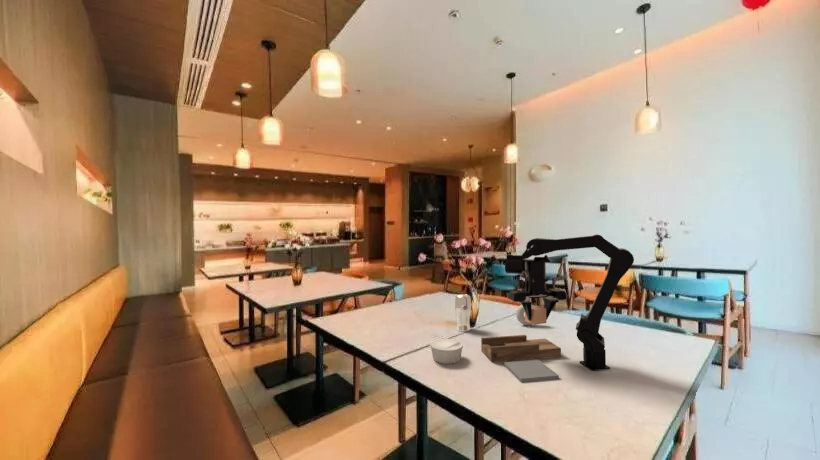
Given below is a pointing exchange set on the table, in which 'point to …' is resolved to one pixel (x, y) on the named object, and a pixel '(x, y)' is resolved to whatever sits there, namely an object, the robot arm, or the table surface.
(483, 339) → the divided wooden tray
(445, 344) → the ramekin
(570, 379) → the table surface
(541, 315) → the block
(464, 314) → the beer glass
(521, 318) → the donut
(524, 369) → the mat
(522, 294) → the robot arm
